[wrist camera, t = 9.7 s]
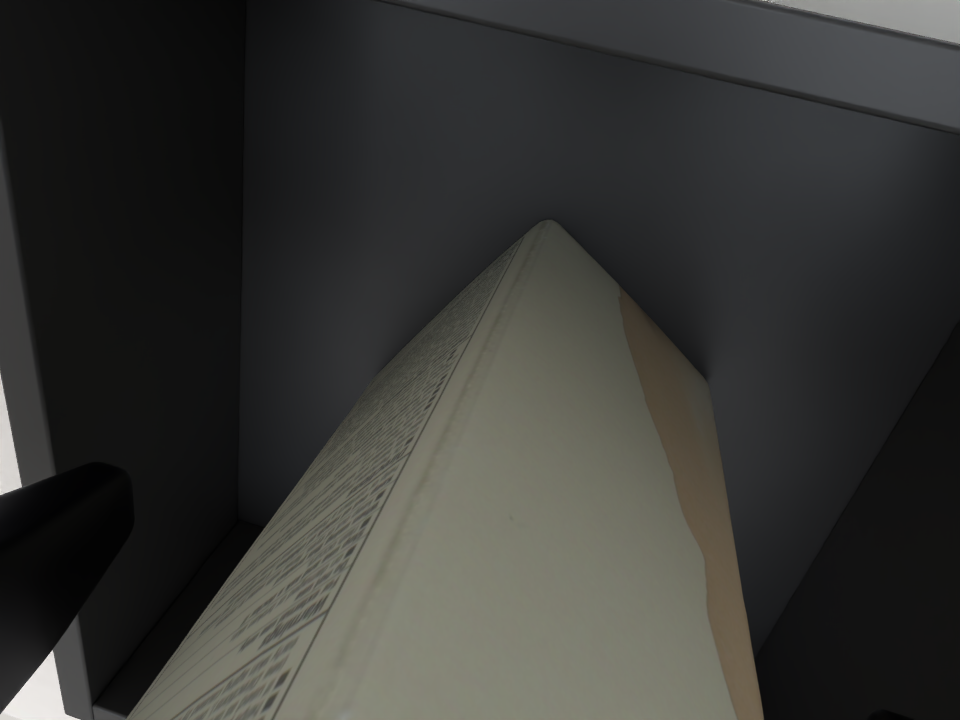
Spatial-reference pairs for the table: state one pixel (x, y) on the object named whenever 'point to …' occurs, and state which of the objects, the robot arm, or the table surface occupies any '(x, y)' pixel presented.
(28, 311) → the dark grey tray
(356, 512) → the box
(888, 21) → the table surface
